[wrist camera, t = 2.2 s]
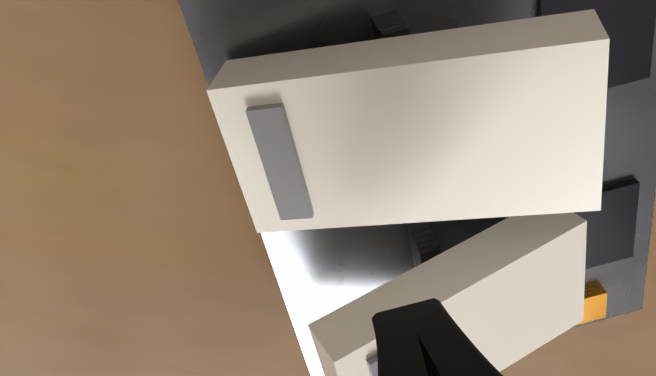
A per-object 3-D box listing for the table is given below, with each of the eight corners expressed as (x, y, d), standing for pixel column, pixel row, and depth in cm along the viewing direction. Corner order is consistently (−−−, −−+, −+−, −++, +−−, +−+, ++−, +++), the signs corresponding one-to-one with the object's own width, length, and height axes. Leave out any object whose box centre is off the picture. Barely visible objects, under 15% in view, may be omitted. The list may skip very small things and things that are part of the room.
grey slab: (614, -542, 13) (816, -708, 9) (583, 308, 28) (653, 406, 23) (64, -402, 13) (-13, -500, 9) (325, 378, 27) (346, 490, 23)
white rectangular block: (547, 196, 18) (592, 224, 17) (548, 292, 20) (588, 324, 19) (307, 324, 16) (337, 368, 15) (338, 416, 18) (366, 461, 17)
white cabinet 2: (594, 8, 12) (612, 43, 11) (588, 171, 15) (602, 216, 13) (226, 60, 14) (203, 94, 13) (270, 196, 17) (254, 238, 15)
